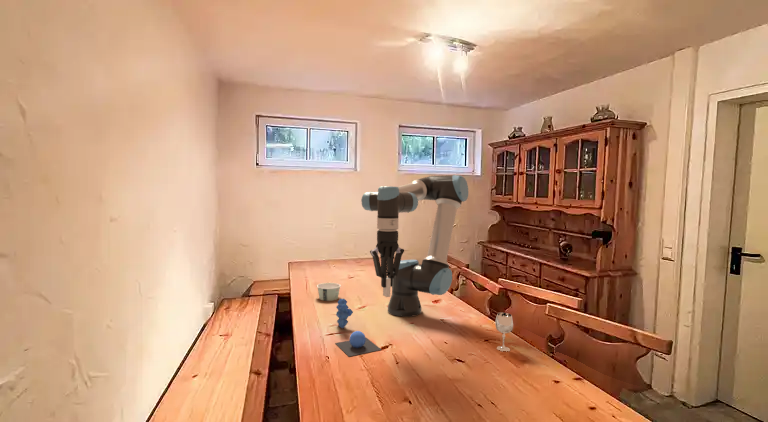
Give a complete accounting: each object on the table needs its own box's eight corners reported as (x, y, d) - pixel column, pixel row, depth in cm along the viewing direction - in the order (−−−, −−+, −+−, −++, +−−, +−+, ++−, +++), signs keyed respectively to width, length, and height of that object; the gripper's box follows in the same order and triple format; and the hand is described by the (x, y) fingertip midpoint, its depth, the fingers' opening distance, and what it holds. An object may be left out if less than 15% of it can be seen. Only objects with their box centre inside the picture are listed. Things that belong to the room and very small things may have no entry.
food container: (339, 301, 182) (339, 288, 182) (314, 301, 182) (314, 288, 182) (342, 295, 194) (342, 282, 194) (318, 294, 194) (319, 282, 194)
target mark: (365, 337, 137) (365, 337, 137) (381, 350, 127) (381, 349, 127) (335, 343, 132) (335, 343, 132) (348, 356, 121) (348, 356, 121)
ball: (349, 347, 130) (363, 340, 133) (356, 353, 126) (370, 345, 128) (345, 333, 129) (358, 326, 132) (351, 338, 125) (365, 330, 127)
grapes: (356, 332, 143) (356, 301, 142) (338, 334, 141) (339, 302, 140) (349, 322, 154) (350, 293, 153) (333, 323, 152) (333, 294, 151)
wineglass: (512, 347, 131) (513, 313, 131) (512, 353, 126) (513, 318, 125) (495, 344, 133) (496, 311, 132) (494, 351, 128) (495, 316, 127)
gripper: (376, 231, 126) (375, 301, 127) (409, 230, 133) (407, 296, 134) (366, 229, 133) (365, 295, 134) (398, 228, 139) (396, 291, 140)
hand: (386, 295), depth 134 cm, fingers closed
